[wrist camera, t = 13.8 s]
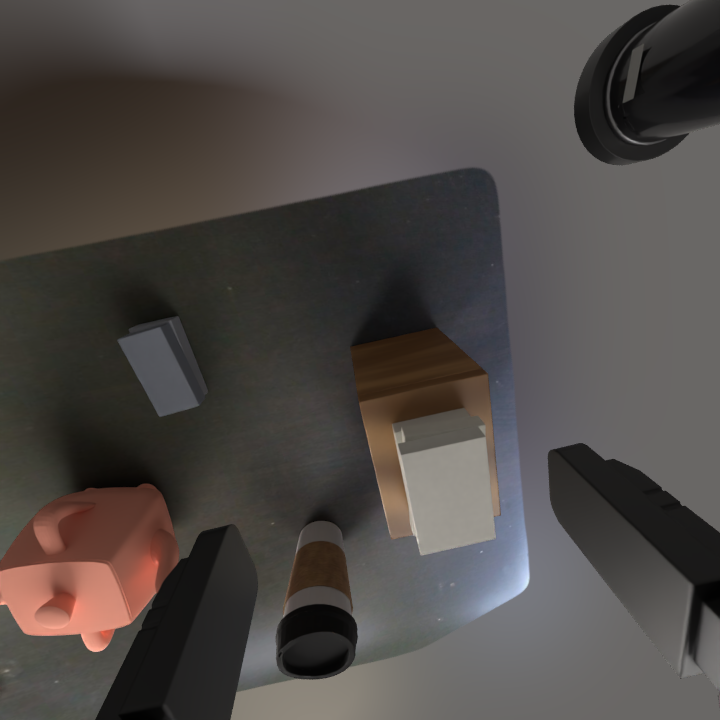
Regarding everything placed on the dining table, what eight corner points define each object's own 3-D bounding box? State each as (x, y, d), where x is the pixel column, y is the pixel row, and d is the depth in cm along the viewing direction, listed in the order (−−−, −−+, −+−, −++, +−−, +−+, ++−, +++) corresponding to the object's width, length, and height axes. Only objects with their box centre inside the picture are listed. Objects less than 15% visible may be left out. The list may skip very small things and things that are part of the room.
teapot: (39, 524, 45) (-73, 635, 32) (99, 438, 41) (0, 526, 29) (159, 580, 49) (101, 696, 37) (223, 507, 46) (183, 608, 34)
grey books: (136, 324, 37) (114, 335, 34) (182, 314, 37) (165, 323, 34) (170, 401, 41) (153, 418, 37) (212, 392, 41) (200, 408, 37)
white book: (397, 443, 25) (400, 455, 24) (477, 425, 25) (485, 436, 24) (416, 540, 28) (420, 555, 27) (488, 524, 28) (496, 539, 27)
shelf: (350, 346, 40) (358, 402, 27) (436, 327, 40) (488, 373, 27) (374, 449, 45) (391, 540, 32) (451, 432, 45) (501, 515, 32)
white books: (387, 419, 27) (393, 438, 25) (470, 400, 27) (485, 418, 25) (407, 515, 31) (414, 541, 28) (481, 498, 31) (495, 523, 28)
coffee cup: (301, 506, 47) (288, 623, 33) (360, 522, 48) (372, 640, 34) (281, 552, 49) (261, 680, 35) (338, 566, 51) (340, 693, 37)
